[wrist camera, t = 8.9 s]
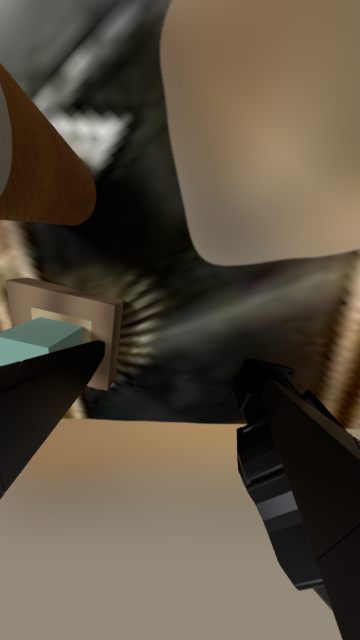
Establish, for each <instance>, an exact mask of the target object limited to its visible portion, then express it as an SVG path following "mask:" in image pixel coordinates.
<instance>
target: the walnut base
mask: <svg viewBox="0 0 360 640" xmlns="http://www.w3.org/2000/svg"><path fill="white" fill-rule="evenodd" d="M6 285H7V292H8V299H9V306H10V313H11V320H12V327H15V326H18V325H20V324H23V323H25V322H28V321H31V320H33V319H36V318H39V317H43V318H48V319H52V320H57V321H61V322H65V323H70V324H74V325H79V326H83V344H84V343H87V342H91V341H95V340H101V341H104V342H105V356H104V359H103V360H102V362H101V364H100V365H99V367H98V369H97V370H96V372H95V374H94V375H93V377H92V379H91V380H90V382H89V383H88V385H87V386H90V387H94V388H99V389H103V390H108V389H109V387H110V386H111V384H112V383H113V381H114V379H115V377H116V368H117V359H118V349H119V340H120V331H121V321H122V312H123V303H124V300H121V299H116V298H112V297H108V296H103V295H99V294H95V293H91V292H86V291H82V290H78V289H74V288H69V287H65V286H61V285H56V284H52V283H48V282H44V281H39V280H35V279H31V278H19V279H11V280H6Z"/></svg>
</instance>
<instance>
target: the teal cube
mask: <svg viewBox="0 0 360 640" xmlns="http://www.w3.org/2000/svg"><path fill="white" fill-rule="evenodd" d="M80 344H83V326H79V325H74V324H70V323H65V322H61V321H57V320H52V319H48V318H43V317H39V318H36V319H33V320H31V321H28V322H25V323H23V324H20V325H18V326H15V327H12V328H10V329H7V330H4V331H2V332H0V366H3V365H7V364H11V363H14V362H18V361H21V362H22V360H25V359H29V358H33V357H36V356H40V355H44V354H47V353H51V352H54V351H58V350H62V349H65V348H69V347H73V346H76V345H80Z"/></svg>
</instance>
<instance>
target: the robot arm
mask: <svg viewBox="0 0 360 640" xmlns="http://www.w3.org/2000/svg"><path fill="white" fill-rule="evenodd" d="M104 356H105V342H104V341H101V340H95V341H91V342H87V343H84V344H80V345H76V346H73V347H69V348H65V349H62V350H58V351H54V352H51V353H47V354H44V355H40V356H36V357H33V358H29V359H25V360H22V362H21V361H18V362H14V363H11V364H7V365H3V366H0V499H1V498H2V496H3V495H4V492H6V491H7V490H8V488H9V487H10V486H11V484H12V483H13V482H14V480H15V479H16V478H17V477H18V475H19V474H20V473H21V471H22V470H23V469H24V467H25V466H26V465H27V463H28V462H29V461H30V459H31V458H32V457H33V455H34V454H35V453H36V452H37V450H38V449H39V448H40V446H41V445H42V444H43V442H44V441H45V440H46V439H47V437H48V436H49V434H50V433H51V432H52V431H53V429H54V428H55V427H56V425H57V424H58V423H59V421H60V420H61V419H62V418H63V416H64V415H65V414H66V412H67V411H68V410H69V408H70V407H71V406H72V404H73V403H74V402H75V400H76V399H77V398H78V397H79V395H80V394H81V393H82V391H83V390H84V389H85V387H86V386H87V385H88V383H89V382H90V380H91V379H92V377H93V375H94V374H95V372H96V370H97V369H98V367H99V365H100V364H101V362H102V360H103V359H104ZM248 362H250V363H248ZM290 371H291V372H290ZM294 373H295V372H294V370H293V369H292V368H289V367H285V366H280V365H276V364H272V363H267V362H263V361H259V360H254V359H250V358H248V359H246V360H245V361H244V364H243V366H242V368H241V371H240V372H239V373H238V374H237V377H236V379H235V382H234V384H233V390H232V392H231V396H232V397H233V398H235V399H237V403H238V406H239V409H240V411H241V412H244V414H245V417H246V420H247V423H248V424H247V425H246V426H244V427H240V428H238V429H237V460H238V471H239V474H240V475H241V478H242V480H243V483H244V485H245V487H246V490H247V492H248V493H249V495H250V497H251V498H252V500H253V501H254V503H255V505H256V507H257V509H258V511H259V513H260V515H261V517H262V520H263V522H264V525H265V527H266V530H267V532H268V535H269V538H270V541H271V543H272V546H273V549H274V551H275V554H276V557H277V560H278V562H279V564H280V566H281V567H282V569H283V570H284V572H285V573H286V574H287V576H288V577H289V579H290V580H291V582H292V583H293V585H294V586H295V587H296V588H297V589H298V590H300V591H301V590H306V589H311V588H313V589H314V591H315V592H316V593H317V594H318V595H319V596H320V597H321V598H322V600H323V601H324V602H325V603H326V604H327V605H328V606H329V607H330V609H331V610H332V611H333V613H334V616H335V619H336V622H337V625H338V628H339V631H340V634H341V636H342V639H343V640H360V441H359V440H358V439H356V438H355V437H353V436H352V435H351V434H349V433H348V432H347V431H346V430H345V428H344V427H343V426H342V425H341V424H340V423H339V422H338V421H337V420H336V418H335V417H334V416H333V415H332V414H331V413H330V412H329V411H328V410H327V409H326V407H325V406H324V405H323V404H322V403H321V402H320V401H319V400H318V399H317V398H316V396H315V395H314V394H313V393H312V392H311V391H310V390H309V389H308V390H307V391H305V392H304V394H302V395H300V394H299V393H298V391H297V390H296V389H295V388H294V386H293V385H292V384H291V382H290V380H291V379H292V377H293V375H294ZM234 394H235V395H234Z"/></svg>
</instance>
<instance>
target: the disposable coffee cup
mask: <svg viewBox="0 0 360 640" xmlns="http://www.w3.org/2000/svg"><path fill="white" fill-rule="evenodd" d="M95 204H96V188H95V183H94V180H93V177H92V175H91V173H90V171H89V169H88V168H87V166H86V165H85V164H84V163H83V162H82V160H81V159H80V158H79V157H78V156H77V154H76V153H75V152H74V151H73V150H72V148H71V147H70V146H69V145H68V144H67V142H66V141H65V140H64V139H63V138H62V136H61V135H60V134H59V133H58V132H57V130H56V129H55V128H54V126H53V125H52V124H51V123H50V122H49V121H48V120H47V119H46V117H45V116H44V115H43V114H42V112H41V111H40V110H39V109H38V108H37V106H36V105H35V104H34V103H33V102H32V100H31V99H30V98H29V97H28V96H27V95H26V93H25V92H24V91H23V90H22V89H21V87H20V86H19V85H18V84H17V82H16V81H15V80H14V79H13V78H12V77H11V75H10V74H9V73H8V72H7V71H6V69H5V68H4V67H3V66H2V65H1V63H0V220H11V221H23V222H37V223H50V224H62V225H78V224H82V223H83V222H84V221H86V220H87V219H88V218H89V217H90V216H91V214H92V212H93V211H94V207H95Z"/></svg>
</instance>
